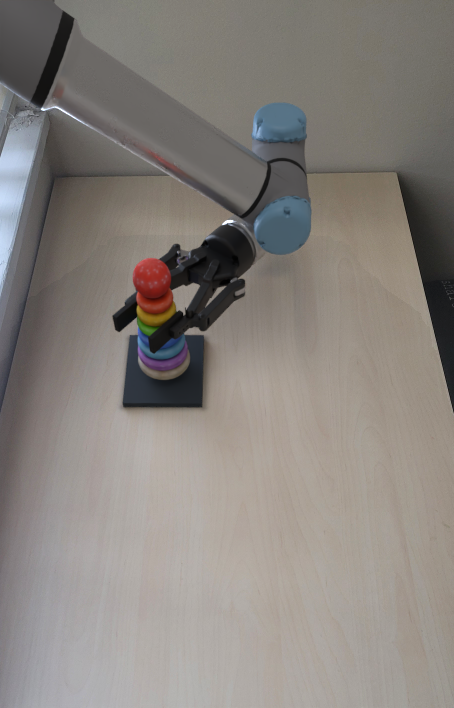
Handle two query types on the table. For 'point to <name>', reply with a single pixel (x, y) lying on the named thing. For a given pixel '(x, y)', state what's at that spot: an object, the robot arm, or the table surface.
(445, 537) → the table surface
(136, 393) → the mat
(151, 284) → the stacking toy
